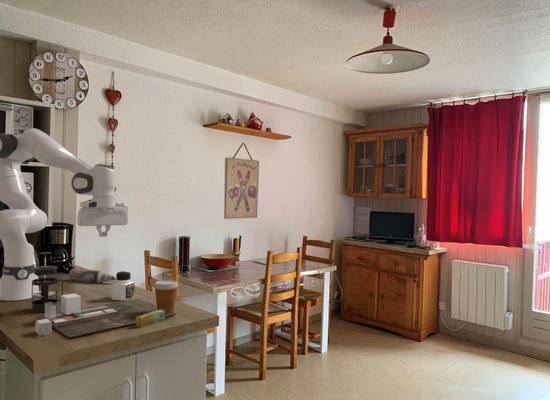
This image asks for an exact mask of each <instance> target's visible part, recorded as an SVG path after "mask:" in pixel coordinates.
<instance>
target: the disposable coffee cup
mask: <svg viewBox="0 0 550 400" xmlns="http://www.w3.org/2000/svg"><path fill="white" fill-rule="evenodd" d="M153 287H154V291H155V292H154V293H155V302H156V310H159V309H164V310H165V315H166V314H167V313H168V314H172V313H173V312H174V309H175V303H176V296H177V291H178V289H177V288H178V287H179V284H178V281H177V280H173V279H162V280H157V281H155V282H154V284H153ZM168 314H167V315H168Z"/></svg>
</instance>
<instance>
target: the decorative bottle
mask: <svg viewBox="0 0 550 400" xmlns="http://www.w3.org/2000/svg"><path fill="white" fill-rule="evenodd" d="M68 276H69V280H70V281H74V280H75V282H84V283H85V282H86V283H95V284H102V283H105V282H109V281H110V282H111V281H116V276H114V275H111V274H108V273H106V272H105V271H103V270H95V269H87V268H86V269H85V268H76V267H73V268H72V269H70V271H69V273H68Z"/></svg>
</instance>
